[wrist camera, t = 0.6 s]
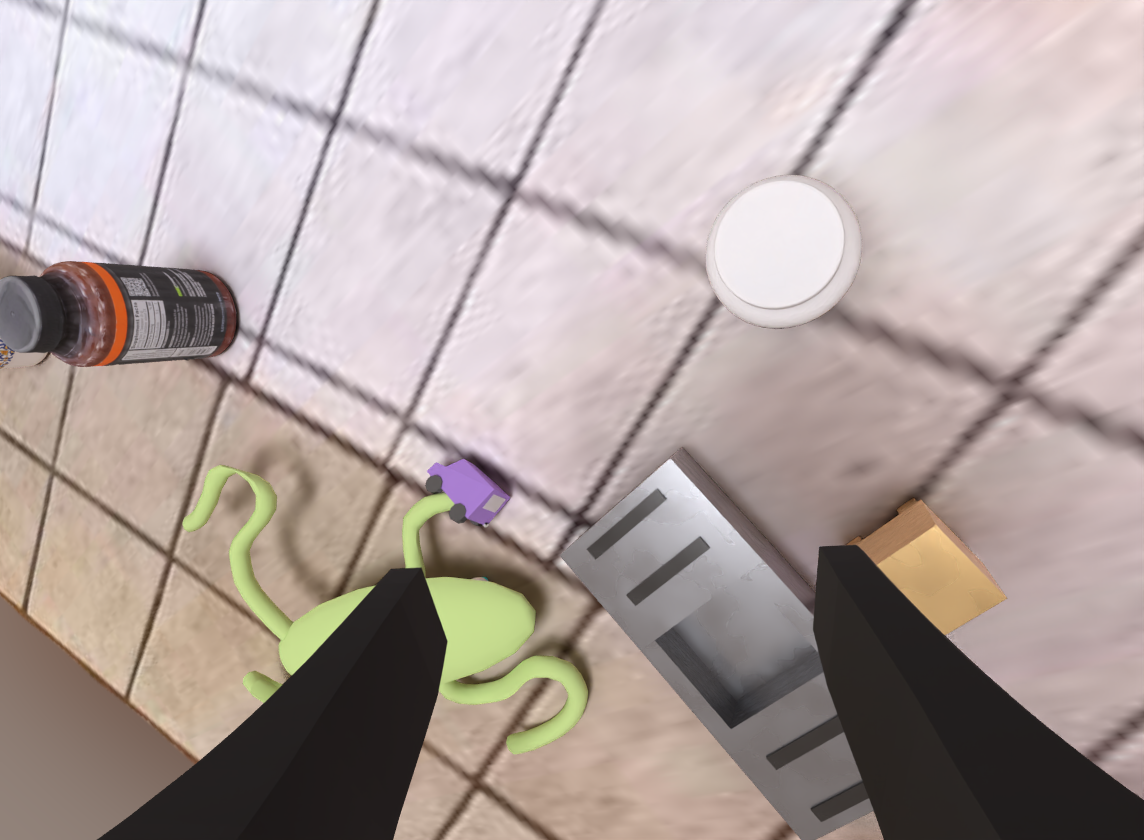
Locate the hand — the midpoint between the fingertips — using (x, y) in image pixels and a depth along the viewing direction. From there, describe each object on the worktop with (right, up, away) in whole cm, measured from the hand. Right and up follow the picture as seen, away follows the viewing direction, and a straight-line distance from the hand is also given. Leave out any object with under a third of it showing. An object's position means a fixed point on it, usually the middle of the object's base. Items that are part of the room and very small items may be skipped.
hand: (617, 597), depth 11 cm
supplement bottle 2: (+9, +10, +17) cm, 22 cm away
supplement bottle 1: (-26, +11, +31) cm, 42 cm away
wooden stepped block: (+14, -3, +17) cm, 23 cm away
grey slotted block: (+8, -7, +20) cm, 23 cm away
